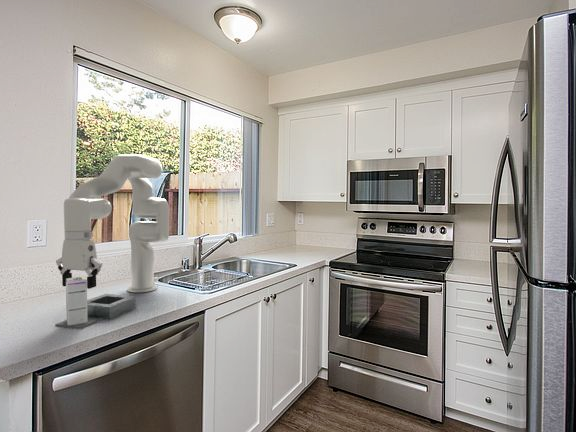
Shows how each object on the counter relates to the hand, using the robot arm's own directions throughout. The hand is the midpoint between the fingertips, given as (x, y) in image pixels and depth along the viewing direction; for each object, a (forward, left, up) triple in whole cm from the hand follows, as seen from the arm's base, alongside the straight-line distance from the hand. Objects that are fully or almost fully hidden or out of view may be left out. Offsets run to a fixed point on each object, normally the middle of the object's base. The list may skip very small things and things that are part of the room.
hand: (79, 286), depth 112 cm
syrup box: (+1, 0, -12) cm, 12 cm away
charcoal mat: (+1, 0, -12) cm, 12 cm away
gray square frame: (-11, +1, -12) cm, 17 cm away
